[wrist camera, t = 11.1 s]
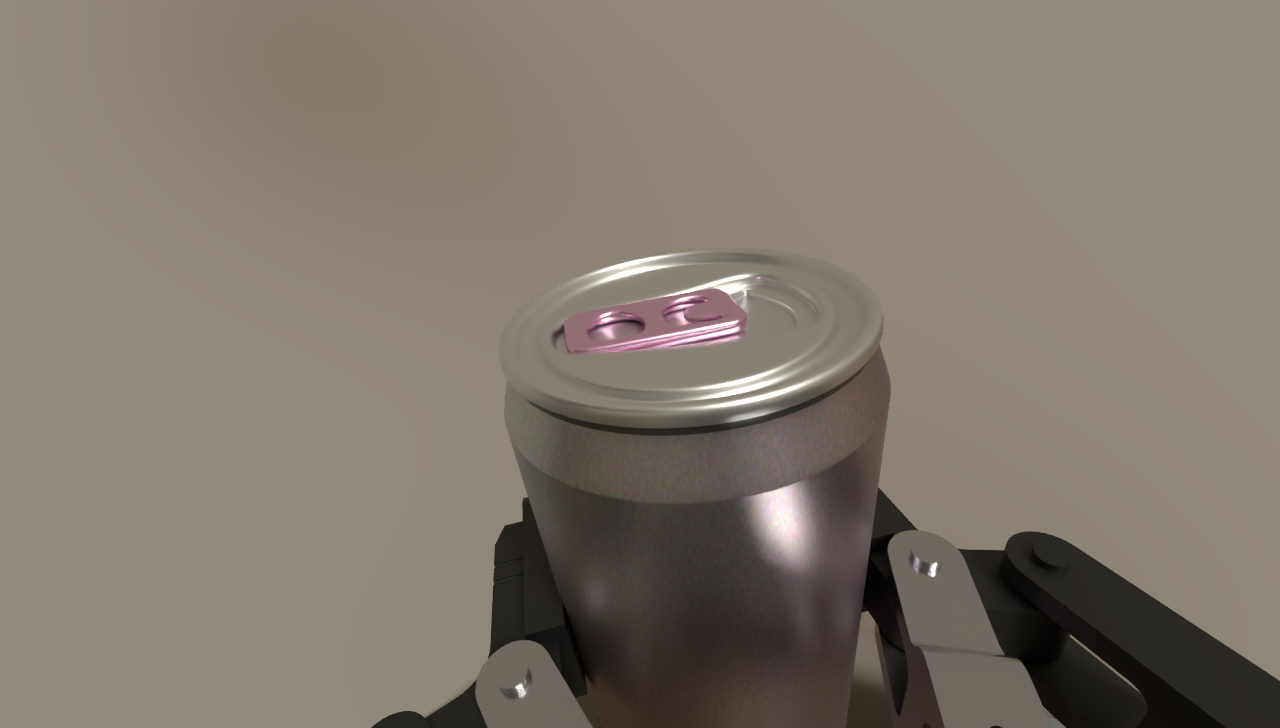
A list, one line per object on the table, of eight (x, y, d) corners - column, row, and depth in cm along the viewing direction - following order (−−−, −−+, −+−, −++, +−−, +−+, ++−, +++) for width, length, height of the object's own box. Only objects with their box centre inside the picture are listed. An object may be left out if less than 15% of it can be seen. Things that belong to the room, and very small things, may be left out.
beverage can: (614, 692, 17) (499, 276, 10) (781, 651, 18) (786, 226, 11) (645, 949, 12) (452, 471, 5) (878, 880, 13) (1021, 354, 5)
